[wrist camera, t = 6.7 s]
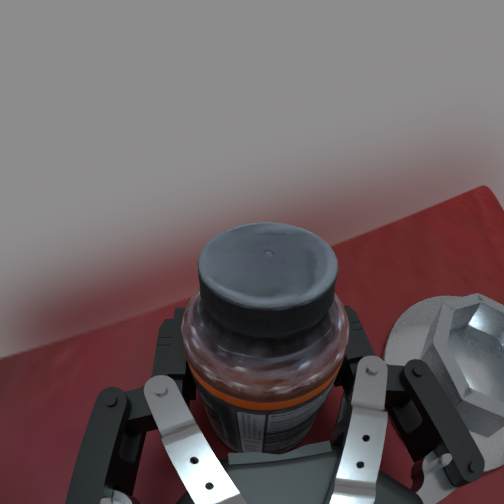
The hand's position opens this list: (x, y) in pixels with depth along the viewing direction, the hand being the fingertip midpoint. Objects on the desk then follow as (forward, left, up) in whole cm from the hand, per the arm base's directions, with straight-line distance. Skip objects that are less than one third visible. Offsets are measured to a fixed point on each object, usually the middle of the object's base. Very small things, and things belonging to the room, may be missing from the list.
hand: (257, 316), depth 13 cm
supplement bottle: (-2, -2, -6) cm, 7 cm away
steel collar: (+8, -14, -6) cm, 17 cm away
